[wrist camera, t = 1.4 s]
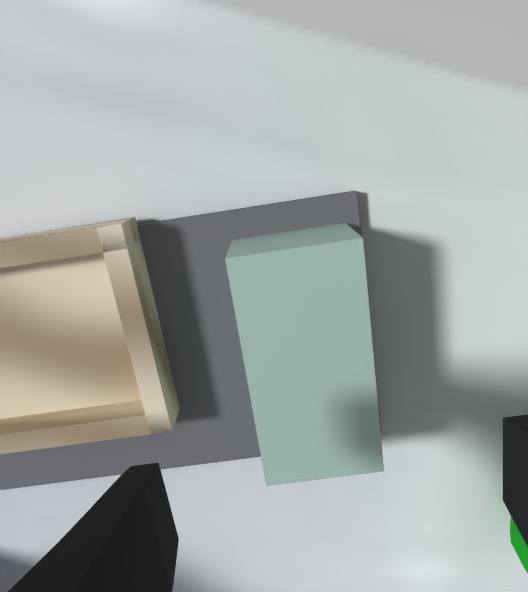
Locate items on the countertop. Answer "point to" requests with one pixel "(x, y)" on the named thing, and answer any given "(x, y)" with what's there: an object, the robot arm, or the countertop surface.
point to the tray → (80, 340)
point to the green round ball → (519, 544)
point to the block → (308, 352)
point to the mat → (190, 346)
